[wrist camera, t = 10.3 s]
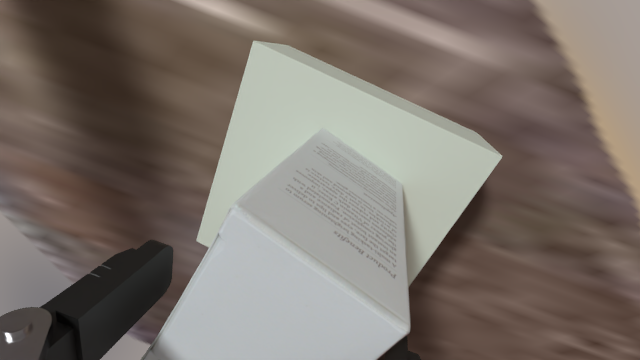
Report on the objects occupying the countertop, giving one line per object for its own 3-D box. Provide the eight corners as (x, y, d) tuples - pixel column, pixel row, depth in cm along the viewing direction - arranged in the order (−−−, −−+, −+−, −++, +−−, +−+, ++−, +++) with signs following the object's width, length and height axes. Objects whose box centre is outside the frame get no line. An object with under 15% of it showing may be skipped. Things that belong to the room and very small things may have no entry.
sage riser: (289, 45, 22) (253, 40, 16) (475, 131, 21) (502, 156, 16) (236, 205, 28) (196, 241, 22) (380, 277, 27) (375, 332, 21)
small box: (327, 272, 20) (266, 460, 11) (257, 223, 20) (132, 369, 11) (406, 182, 17) (419, 338, 8) (323, 123, 17) (228, 204, 7)
